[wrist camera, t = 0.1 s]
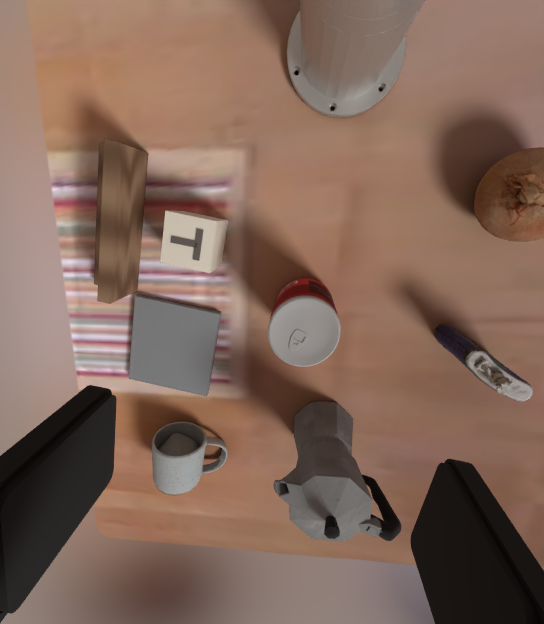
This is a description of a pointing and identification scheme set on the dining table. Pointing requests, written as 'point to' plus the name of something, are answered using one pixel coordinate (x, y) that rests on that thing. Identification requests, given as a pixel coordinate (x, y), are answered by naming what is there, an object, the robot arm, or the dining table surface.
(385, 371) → the dining table surface
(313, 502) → the coffeepot
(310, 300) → the canned food
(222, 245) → the marked cube
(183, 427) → the ceramic mug
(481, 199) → the onion
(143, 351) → the slate mat
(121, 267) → the walnut screen
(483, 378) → the flask
